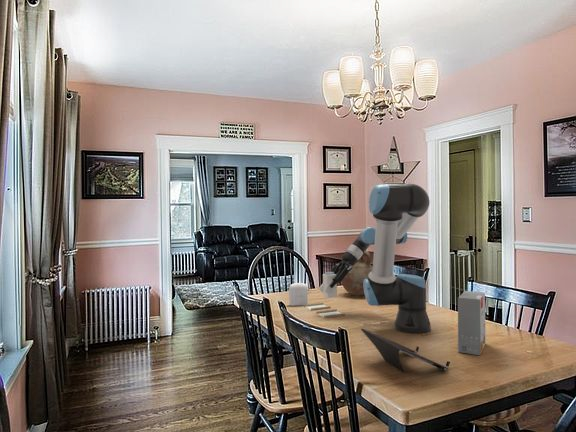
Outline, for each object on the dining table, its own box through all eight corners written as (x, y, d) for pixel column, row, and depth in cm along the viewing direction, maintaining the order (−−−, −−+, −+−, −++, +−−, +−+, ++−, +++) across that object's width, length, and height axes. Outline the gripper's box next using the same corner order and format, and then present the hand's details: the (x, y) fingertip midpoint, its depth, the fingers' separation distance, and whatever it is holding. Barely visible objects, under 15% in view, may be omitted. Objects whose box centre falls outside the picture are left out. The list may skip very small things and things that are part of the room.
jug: (351, 290, 263) (350, 244, 263) (382, 293, 251) (381, 245, 250) (335, 296, 246) (334, 247, 245) (368, 300, 233) (366, 248, 233)
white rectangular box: (337, 297, 198) (336, 272, 198) (327, 298, 196) (327, 273, 197) (332, 295, 203) (331, 271, 203) (323, 296, 201) (322, 272, 201)
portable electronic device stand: (447, 393, 128) (457, 365, 129) (391, 371, 121) (402, 341, 122) (403, 367, 149) (412, 343, 151) (353, 347, 142) (363, 322, 144)
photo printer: (307, 303, 229) (306, 281, 229) (308, 305, 225) (308, 283, 224) (289, 304, 227) (288, 282, 227) (290, 306, 223) (289, 284, 223)
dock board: (346, 317, 197) (346, 313, 197) (323, 320, 193) (323, 316, 193) (323, 306, 221) (323, 302, 221) (303, 308, 217) (303, 304, 217)
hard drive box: (481, 356, 142) (480, 299, 142) (457, 352, 146) (456, 297, 146) (486, 343, 155) (485, 291, 155) (464, 340, 160) (463, 290, 159)
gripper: (366, 262, 197) (336, 299, 191) (348, 259, 214) (320, 293, 208) (356, 251, 195) (325, 289, 189) (338, 249, 212) (310, 283, 206)
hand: (323, 291), depth 198 cm, fingers closed on white rectangular box, 5 cm apart
